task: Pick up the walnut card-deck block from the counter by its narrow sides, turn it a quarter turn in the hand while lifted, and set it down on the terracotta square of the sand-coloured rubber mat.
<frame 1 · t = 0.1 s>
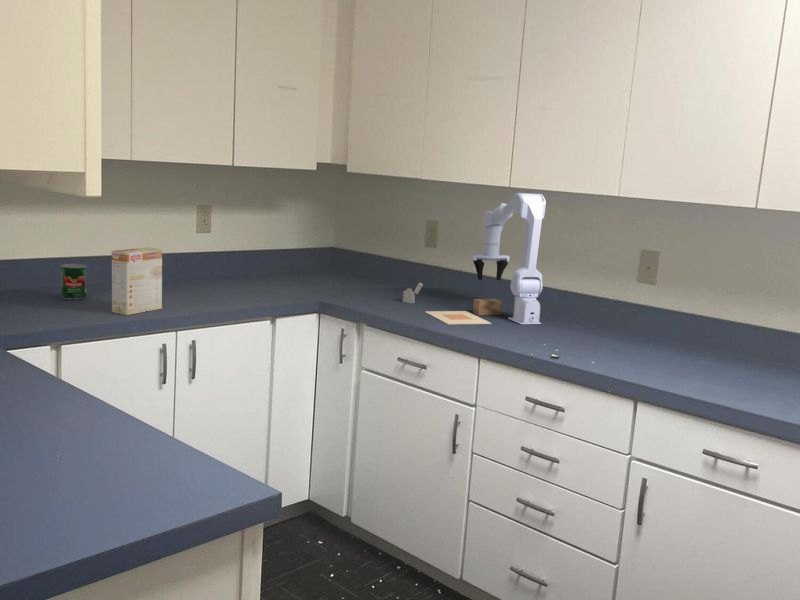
hand: (489, 279, 301), 10 cm above the countertop, fingers open, 7 cm apart
lighter: (412, 303, 299), on the countertop
coffeecake box: (137, 311, 254), on the countertop
canned tomato: (74, 298, 268), on the countertop
mat: (457, 317, 276), on the countertop
walnut block: (486, 313, 288), on the countertop
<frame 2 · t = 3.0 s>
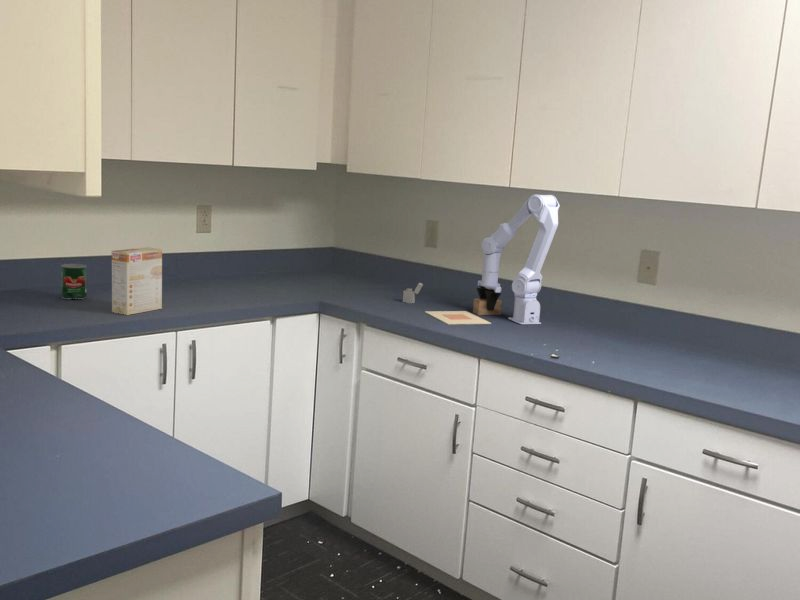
hand: (487, 309, 287), 2 cm above the countertop, fingers closed on walnut block, 4 cm apart
walnut block: (486, 313, 288), on the countertop, touching gripper
everything else where it was.
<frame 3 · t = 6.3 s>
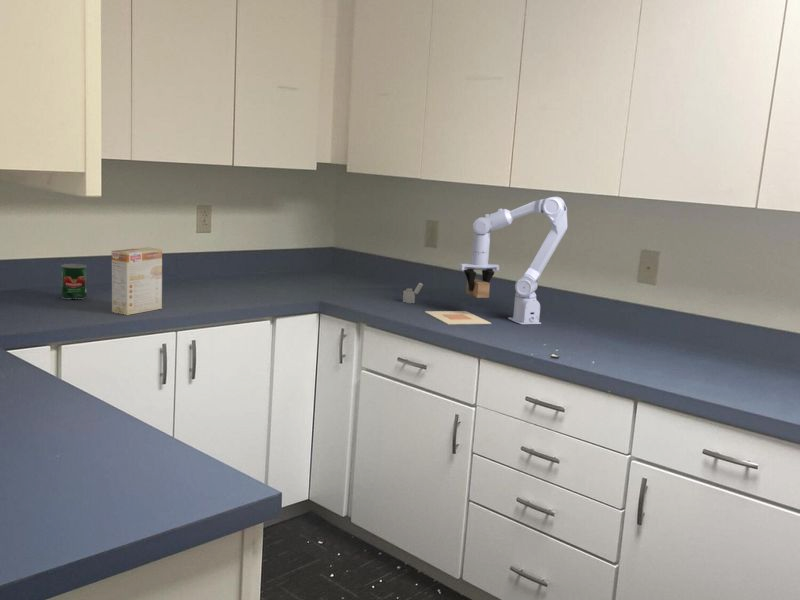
hand: (477, 290, 281), 9 cm above the countertop, fingers closed on walnut block, 4 cm apart
walnut block: (477, 295, 281), point 7 cm above the countertop, touching gripper
everything else where it was.
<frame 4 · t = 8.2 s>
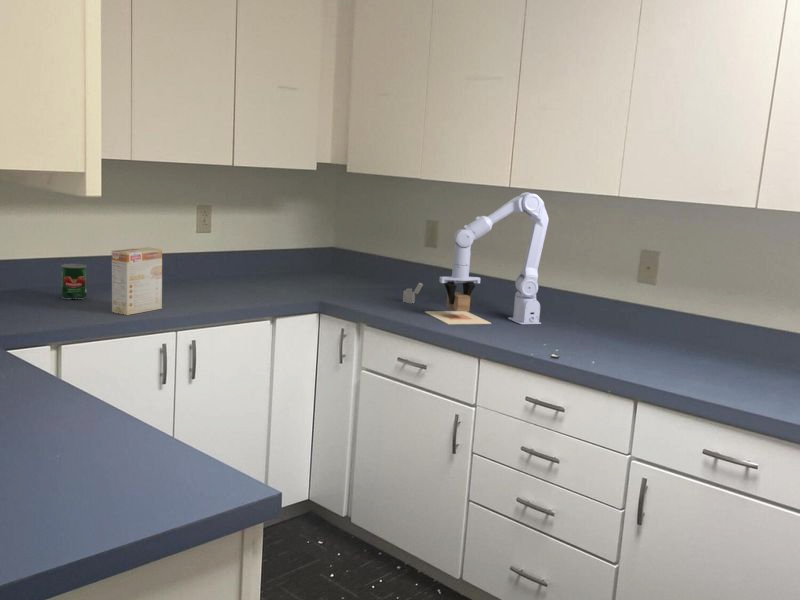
hand: (458, 303, 275), 5 cm above the countertop, fingers closed on walnut block, 4 cm apart
walnut block: (457, 308, 275), point 3 cm above the countertop, touching gripper
everything else where it was.
when the fingers open (3 cm above the countertop, at t = 9.6 s): walnut block stays where it is, resting on mat.
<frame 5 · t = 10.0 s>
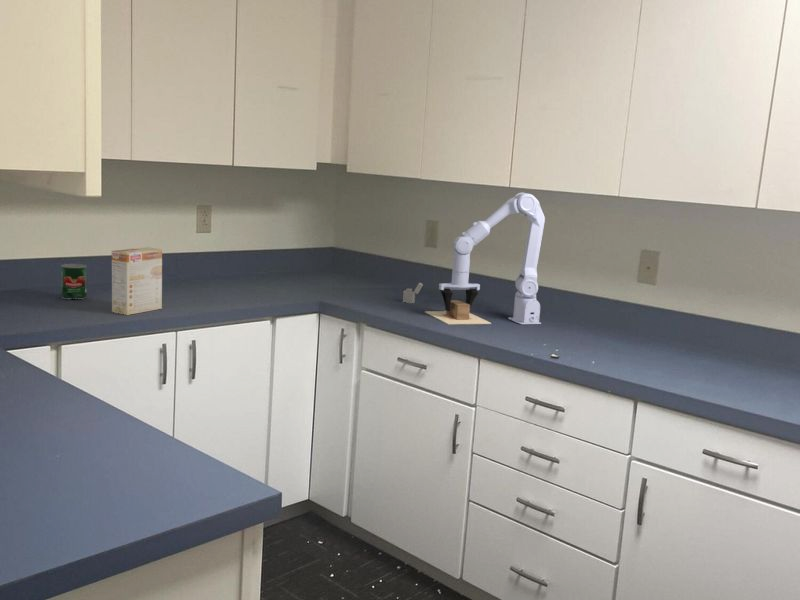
hand: (457, 310, 275), 3 cm above the countertop, fingers open, 7 cm apart
walnut block: (457, 316, 276), resting on mat
everything else where it was.
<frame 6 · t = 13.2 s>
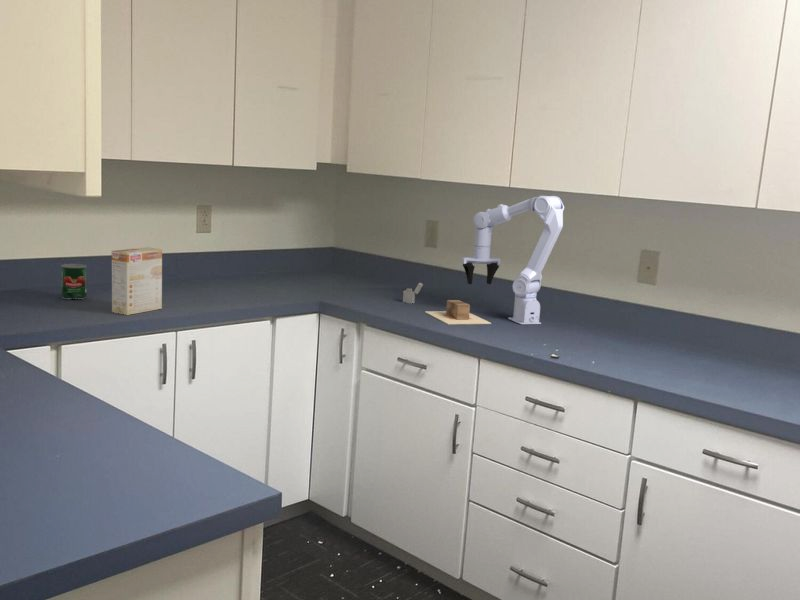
hand: (479, 283, 287), 10 cm above the countertop, fingers open, 7 cm apart
nothing on the countertop moved.
at the end: walnut block inside the target area on the mat (0.0 cm from its centre), point 0.4 cm above the mat's base; walnut block tilted 0°; the gripper is holding nothing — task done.
